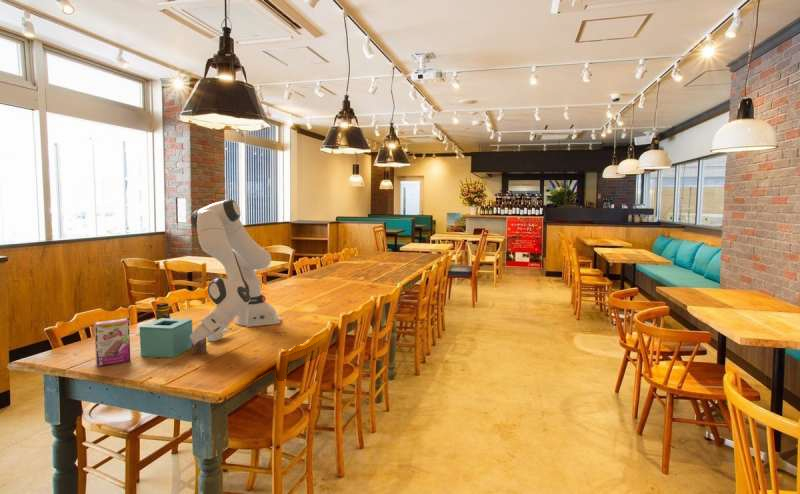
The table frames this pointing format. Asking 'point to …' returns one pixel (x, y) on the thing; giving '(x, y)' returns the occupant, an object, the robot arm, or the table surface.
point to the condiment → (162, 311)
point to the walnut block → (199, 347)
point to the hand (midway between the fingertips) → (197, 341)
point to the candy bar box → (112, 342)
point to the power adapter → (218, 335)
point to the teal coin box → (165, 337)
